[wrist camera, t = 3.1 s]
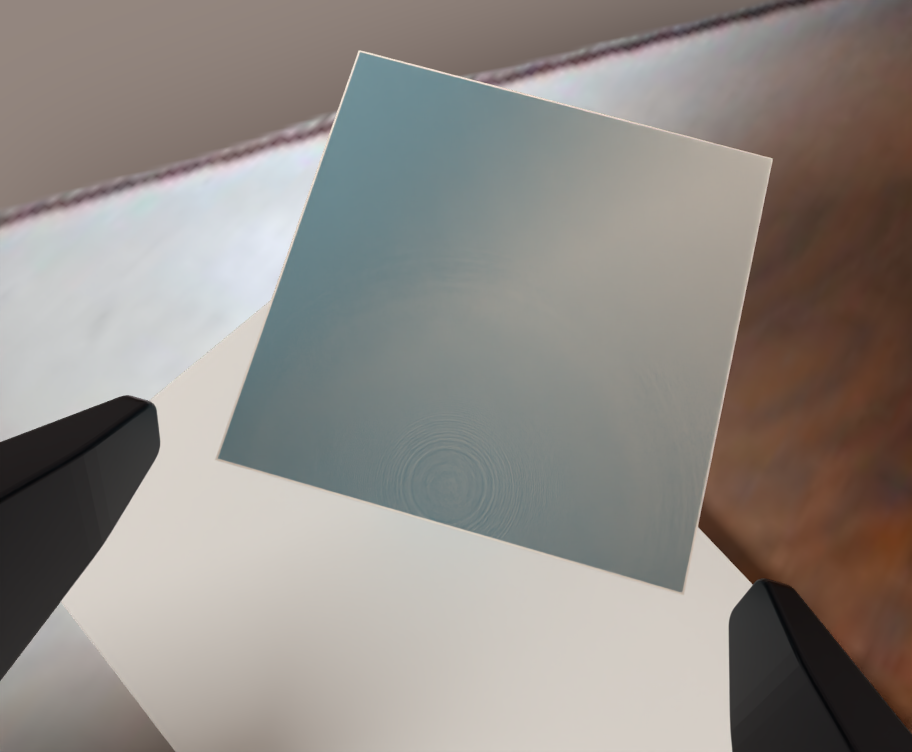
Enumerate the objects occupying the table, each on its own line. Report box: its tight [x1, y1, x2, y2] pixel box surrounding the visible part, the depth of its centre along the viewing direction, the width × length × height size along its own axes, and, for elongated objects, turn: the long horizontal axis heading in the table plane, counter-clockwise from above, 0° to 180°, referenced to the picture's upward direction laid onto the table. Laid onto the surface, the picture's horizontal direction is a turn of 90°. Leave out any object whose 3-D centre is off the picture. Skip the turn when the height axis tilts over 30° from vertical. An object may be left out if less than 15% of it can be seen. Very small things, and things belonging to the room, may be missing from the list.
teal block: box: [215, 50, 773, 595], centre depth 12 cm, size 4×4×12 cm
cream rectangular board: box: [61, 300, 752, 752], centre depth 18 cm, size 22×15×1 cm
